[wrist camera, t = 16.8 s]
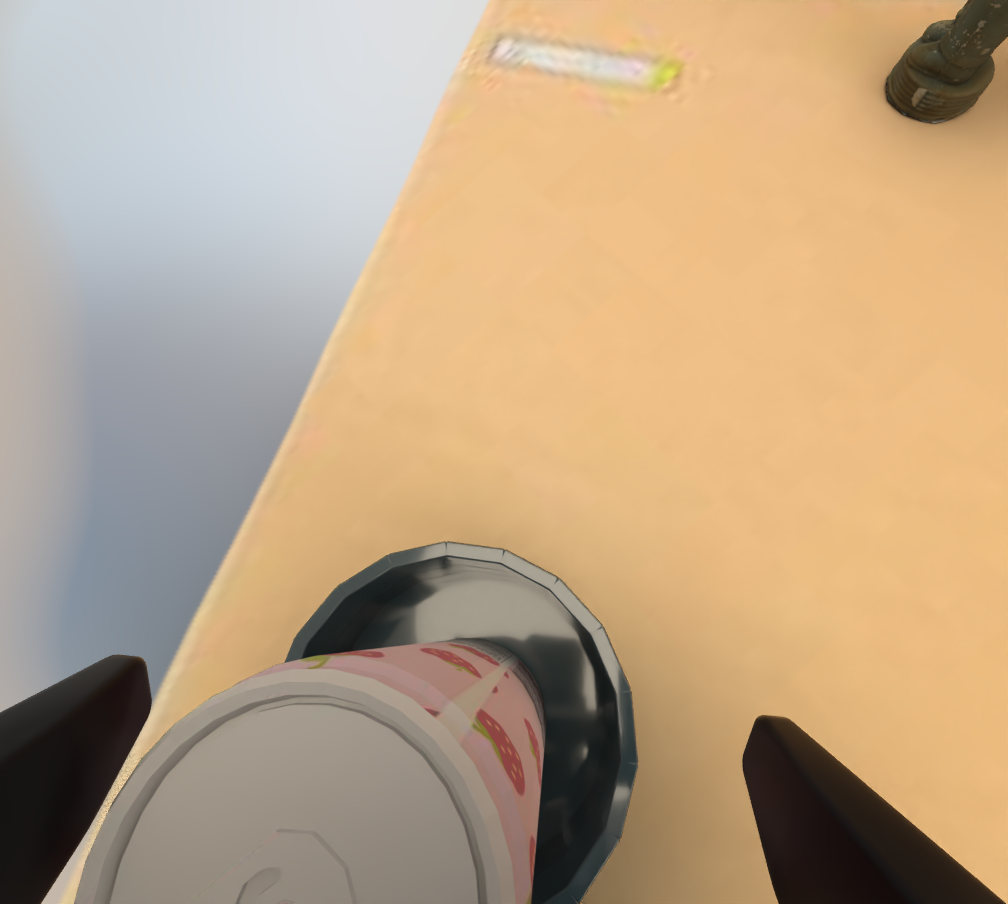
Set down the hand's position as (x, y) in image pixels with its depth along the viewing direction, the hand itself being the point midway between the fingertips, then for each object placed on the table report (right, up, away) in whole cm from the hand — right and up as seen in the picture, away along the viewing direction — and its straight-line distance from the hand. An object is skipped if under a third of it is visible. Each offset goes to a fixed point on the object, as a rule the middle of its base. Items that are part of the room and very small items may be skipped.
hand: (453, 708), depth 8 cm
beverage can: (-1, -6, +13) cm, 14 cm away
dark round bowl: (-1, -6, +13) cm, 14 cm away
